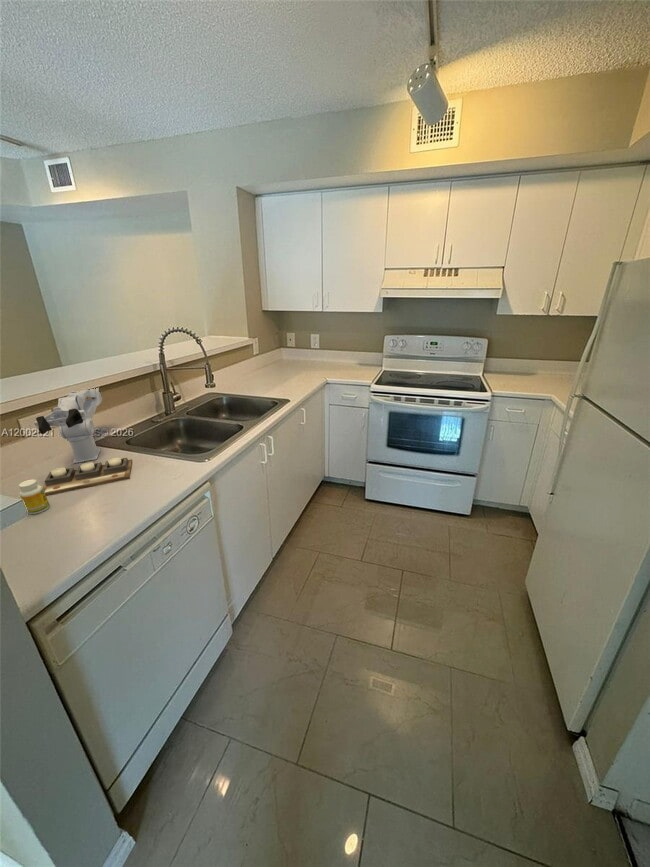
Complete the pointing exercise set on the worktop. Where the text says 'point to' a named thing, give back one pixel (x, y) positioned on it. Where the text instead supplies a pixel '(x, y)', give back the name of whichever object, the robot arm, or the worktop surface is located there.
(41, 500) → the supplement bottle
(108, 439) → the worktop surface
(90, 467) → the button middle
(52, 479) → the board
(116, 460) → the button right
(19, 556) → the worktop surface
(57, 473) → the button left
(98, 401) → the robot arm
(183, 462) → the worktop surface
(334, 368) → the worktop surface
